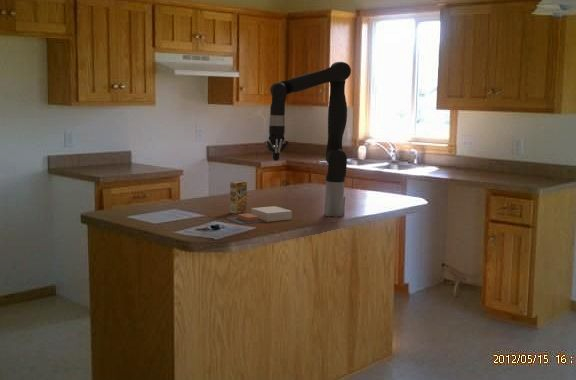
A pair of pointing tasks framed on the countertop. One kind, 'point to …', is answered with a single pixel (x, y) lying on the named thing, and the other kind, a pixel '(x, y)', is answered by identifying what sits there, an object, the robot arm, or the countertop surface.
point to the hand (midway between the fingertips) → (275, 160)
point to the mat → (243, 221)
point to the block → (247, 217)
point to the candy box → (238, 197)
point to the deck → (272, 213)
